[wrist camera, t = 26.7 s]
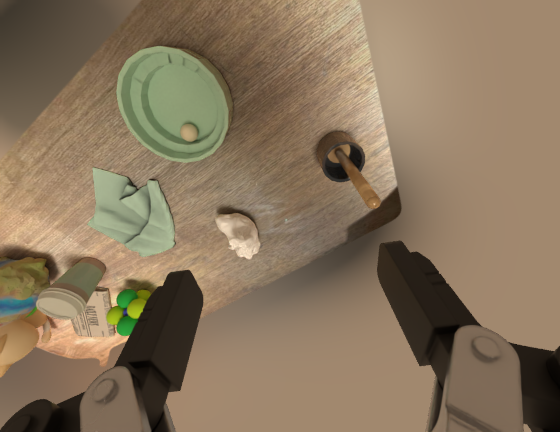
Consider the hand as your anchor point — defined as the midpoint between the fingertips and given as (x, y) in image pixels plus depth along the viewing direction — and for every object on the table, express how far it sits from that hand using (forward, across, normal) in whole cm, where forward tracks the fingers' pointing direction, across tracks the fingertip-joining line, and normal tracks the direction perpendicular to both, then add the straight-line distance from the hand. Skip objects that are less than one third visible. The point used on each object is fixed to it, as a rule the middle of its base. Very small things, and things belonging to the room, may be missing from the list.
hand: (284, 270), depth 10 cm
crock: (+36, -10, +9) cm, 39 cm away
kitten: (+36, +75, +41) cm, 93 cm away
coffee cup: (+36, +50, +28) cm, 68 cm away
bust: (+36, +11, +22) cm, 44 cm away
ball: (+34, +14, +1) cm, 37 cm away
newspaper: (+36, +61, +44) cm, 84 cm away
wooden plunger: (+36, -10, +8) cm, 38 cm away
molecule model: (+36, +42, +39) cm, 68 cm away
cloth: (+36, +33, +16) cm, 51 cm away
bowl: (+36, +14, -3) cm, 39 cm away
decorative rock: (+36, +64, +24) cm, 77 cm away
